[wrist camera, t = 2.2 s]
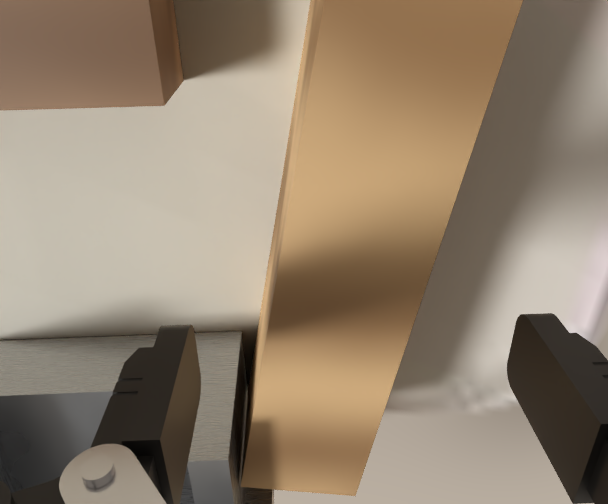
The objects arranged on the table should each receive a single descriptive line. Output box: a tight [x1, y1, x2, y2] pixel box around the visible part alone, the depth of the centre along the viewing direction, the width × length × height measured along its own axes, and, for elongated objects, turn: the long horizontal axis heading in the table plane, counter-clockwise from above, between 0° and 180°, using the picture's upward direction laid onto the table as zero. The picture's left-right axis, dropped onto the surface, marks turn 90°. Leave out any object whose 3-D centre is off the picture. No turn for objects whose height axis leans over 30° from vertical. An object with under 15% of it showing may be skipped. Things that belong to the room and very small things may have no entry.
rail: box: [241, 0, 523, 496], centre depth 16 cm, size 16×4×5 cm, turn 170°
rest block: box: [0, 0, 184, 110], centre depth 13 cm, size 4×8×3 cm, turn 91°
